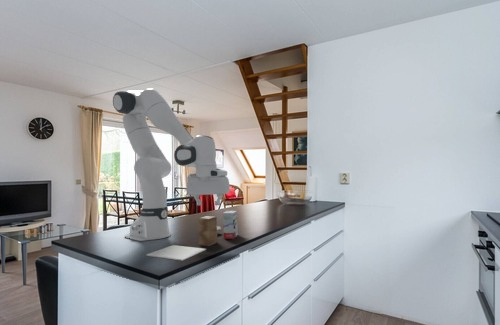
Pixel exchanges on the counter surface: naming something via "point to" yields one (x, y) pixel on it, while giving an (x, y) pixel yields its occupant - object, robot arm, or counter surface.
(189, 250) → the mat
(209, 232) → the walnut block
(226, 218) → the ink box
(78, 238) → the counter surface
